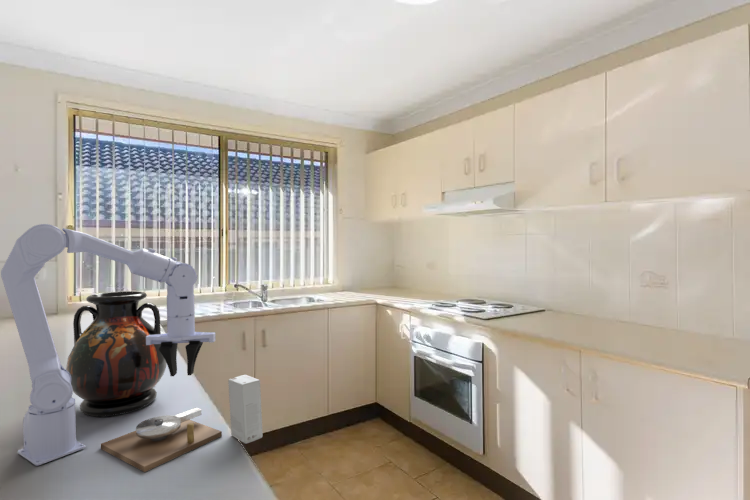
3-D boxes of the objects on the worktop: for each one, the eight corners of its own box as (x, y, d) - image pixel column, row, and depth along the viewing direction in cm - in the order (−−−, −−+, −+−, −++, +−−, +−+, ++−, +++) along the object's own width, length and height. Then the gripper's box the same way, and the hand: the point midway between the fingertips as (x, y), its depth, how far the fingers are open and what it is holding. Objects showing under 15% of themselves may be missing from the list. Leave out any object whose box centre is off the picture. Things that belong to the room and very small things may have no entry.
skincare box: (263, 437, 86) (262, 379, 86) (243, 445, 83) (242, 384, 83) (248, 428, 90) (247, 373, 90) (228, 435, 87) (227, 378, 87)
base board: (100, 448, 82) (100, 426, 82) (176, 419, 96) (176, 399, 95) (144, 472, 73) (144, 446, 73) (221, 436, 87) (221, 414, 87)
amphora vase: (48, 429, 91) (45, 301, 91) (87, 394, 112) (85, 291, 112) (157, 417, 97) (154, 297, 96) (175, 386, 118) (173, 287, 117)
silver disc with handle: (150, 442, 79) (149, 433, 79) (128, 432, 83) (127, 423, 83) (210, 417, 90) (209, 409, 90) (187, 410, 94) (187, 402, 94)
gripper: (139, 319, 90) (140, 382, 90) (209, 317, 92) (210, 378, 92) (152, 314, 97) (153, 372, 97) (217, 311, 99) (218, 368, 99)
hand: (182, 374), depth 95 cm, fingers open, 3 cm apart
